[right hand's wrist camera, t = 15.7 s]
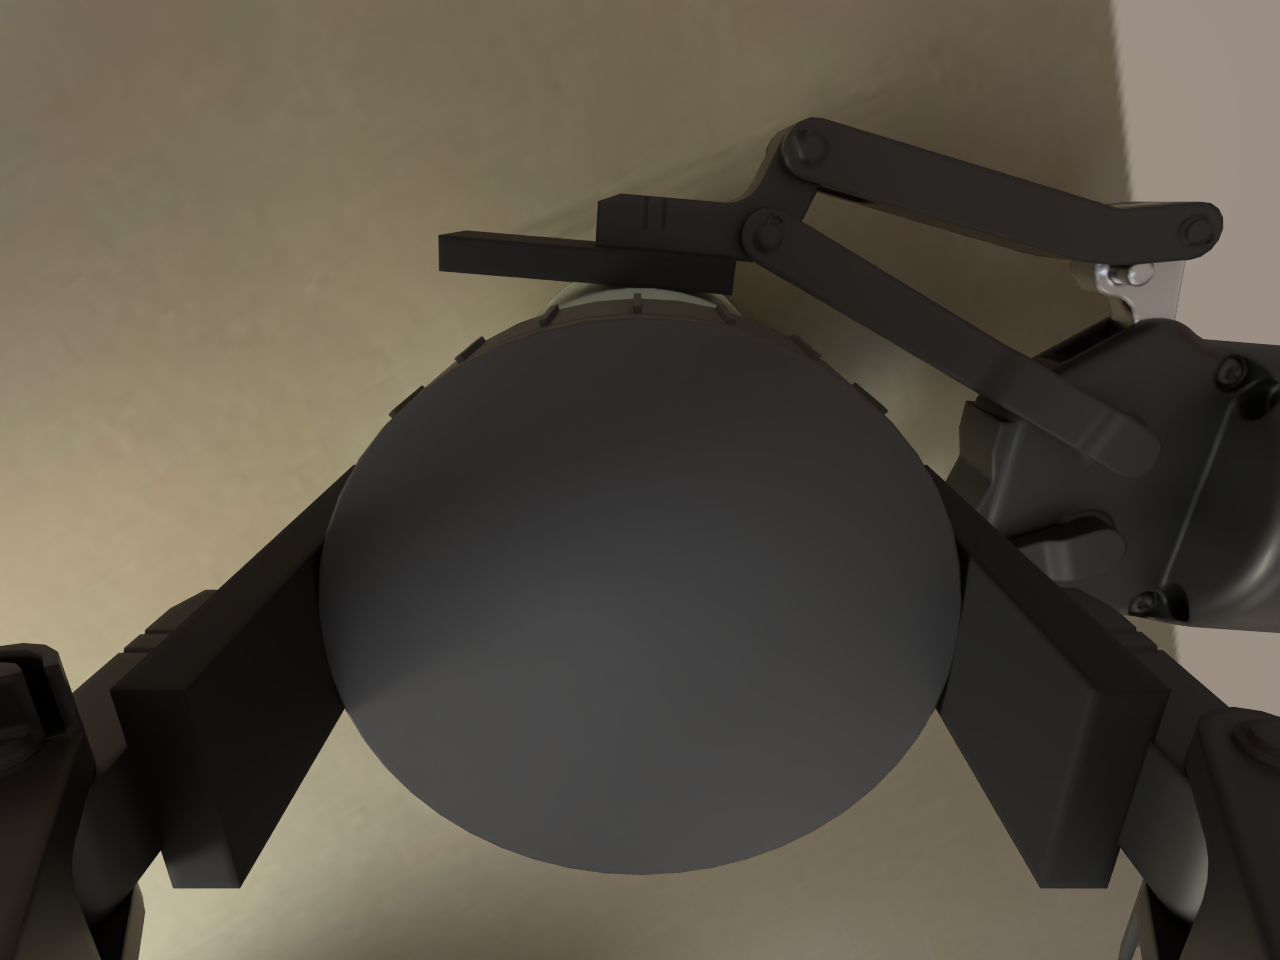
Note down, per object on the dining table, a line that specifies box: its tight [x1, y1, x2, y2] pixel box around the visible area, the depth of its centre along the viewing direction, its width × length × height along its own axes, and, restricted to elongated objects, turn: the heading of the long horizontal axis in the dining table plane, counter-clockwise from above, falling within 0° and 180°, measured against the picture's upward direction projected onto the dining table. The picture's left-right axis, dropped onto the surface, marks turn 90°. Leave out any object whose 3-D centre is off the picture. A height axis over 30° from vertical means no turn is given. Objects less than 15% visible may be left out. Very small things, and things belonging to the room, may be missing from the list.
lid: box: [318, 293, 962, 875], centre depth 11 cm, size 9×9×2 cm
